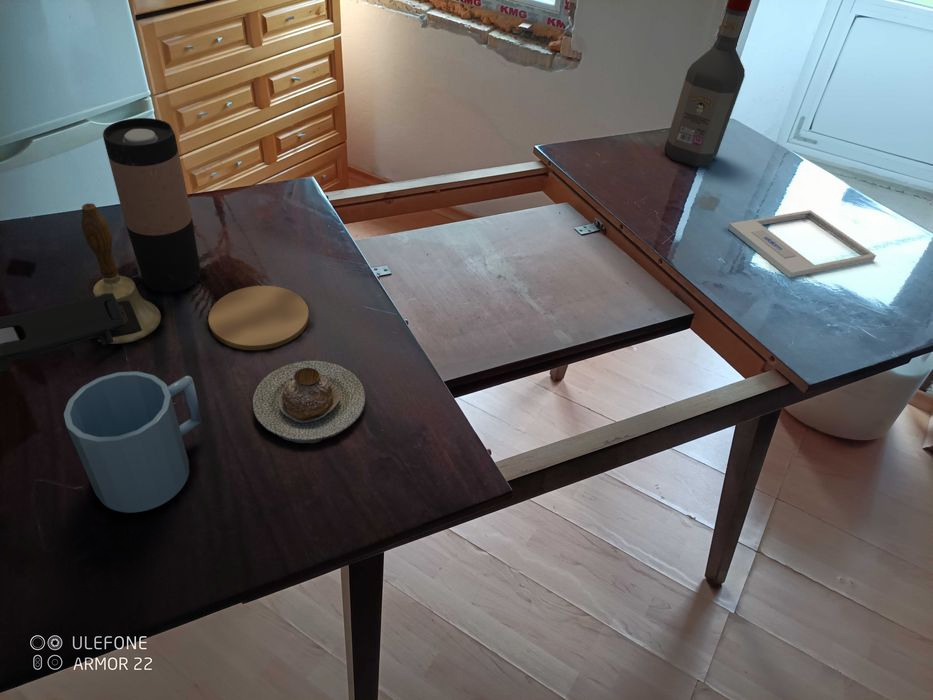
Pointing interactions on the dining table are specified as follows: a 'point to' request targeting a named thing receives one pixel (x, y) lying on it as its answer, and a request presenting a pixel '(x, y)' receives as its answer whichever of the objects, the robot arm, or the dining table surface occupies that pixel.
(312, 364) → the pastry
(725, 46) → the liquor
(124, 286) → the hand bell
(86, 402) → the mug
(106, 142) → the travel mug
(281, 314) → the coaster
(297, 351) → the dining table surface
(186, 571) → the dining table surface
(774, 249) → the photo frame
